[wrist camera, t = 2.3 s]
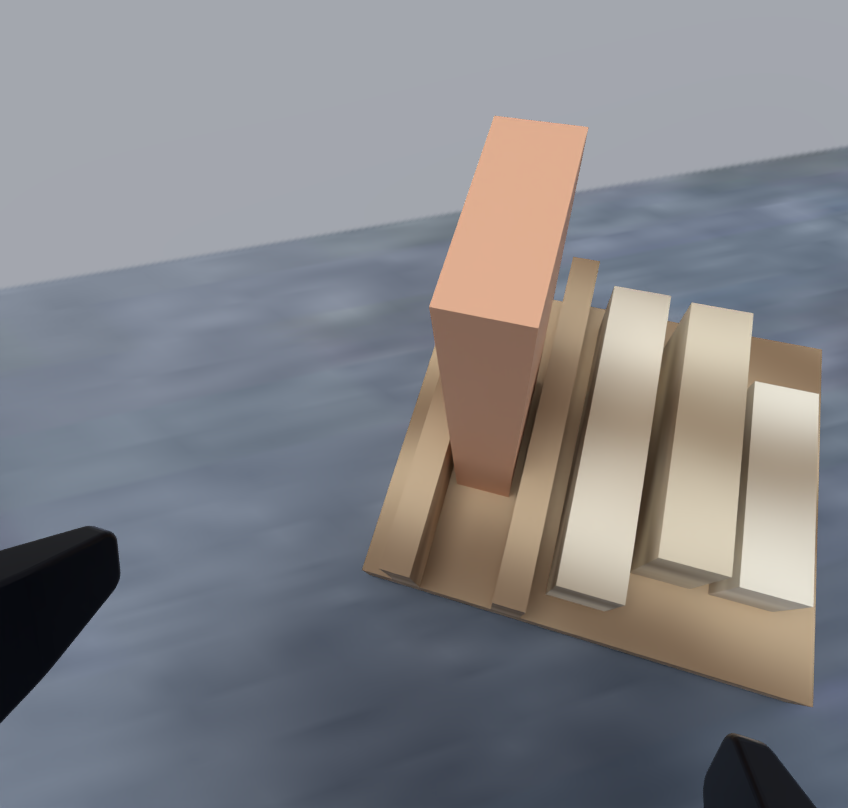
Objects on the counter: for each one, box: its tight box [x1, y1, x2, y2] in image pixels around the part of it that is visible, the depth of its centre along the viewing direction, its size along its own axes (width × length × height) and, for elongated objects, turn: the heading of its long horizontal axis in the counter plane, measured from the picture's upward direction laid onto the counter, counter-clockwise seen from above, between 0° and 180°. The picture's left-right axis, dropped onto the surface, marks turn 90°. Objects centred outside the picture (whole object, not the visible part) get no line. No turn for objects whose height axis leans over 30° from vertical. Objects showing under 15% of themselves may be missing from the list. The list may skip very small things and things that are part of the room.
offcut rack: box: [362, 257, 822, 707], centre depth 20 cm, size 13×15×5 cm
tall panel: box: [429, 116, 588, 497], centre depth 16 cm, size 5×2×12 cm, turn 164°
